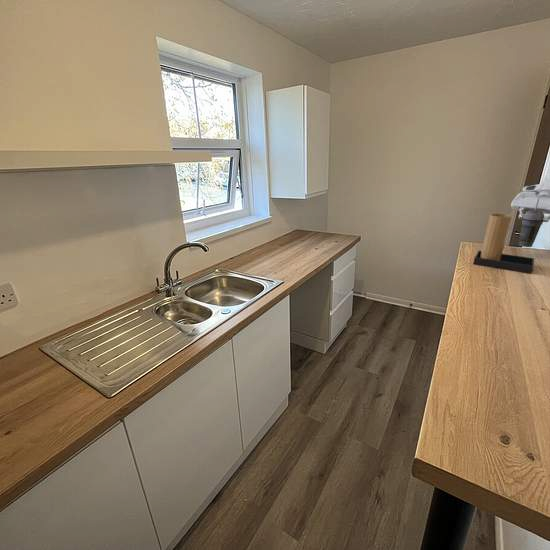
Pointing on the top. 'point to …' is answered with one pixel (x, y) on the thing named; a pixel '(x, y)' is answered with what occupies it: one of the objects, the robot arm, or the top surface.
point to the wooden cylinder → (495, 236)
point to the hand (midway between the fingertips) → (532, 219)
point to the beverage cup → (530, 226)
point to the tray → (507, 263)
